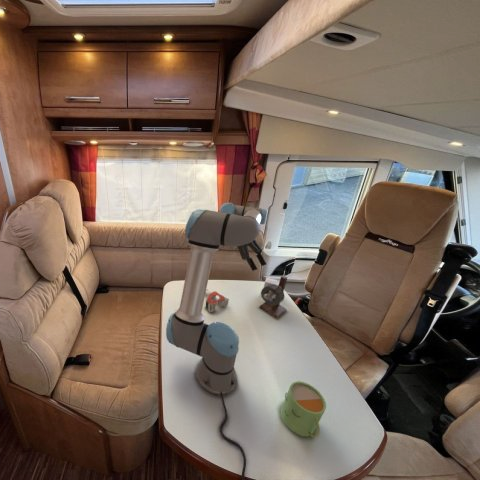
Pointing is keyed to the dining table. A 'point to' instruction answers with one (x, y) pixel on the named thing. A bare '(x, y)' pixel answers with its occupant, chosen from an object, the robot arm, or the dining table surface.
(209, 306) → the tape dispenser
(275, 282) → the small box
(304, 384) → the mug
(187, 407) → the dining table surface
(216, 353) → the robot arm
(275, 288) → the tape roll
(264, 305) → the tape stand
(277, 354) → the dining table surface
